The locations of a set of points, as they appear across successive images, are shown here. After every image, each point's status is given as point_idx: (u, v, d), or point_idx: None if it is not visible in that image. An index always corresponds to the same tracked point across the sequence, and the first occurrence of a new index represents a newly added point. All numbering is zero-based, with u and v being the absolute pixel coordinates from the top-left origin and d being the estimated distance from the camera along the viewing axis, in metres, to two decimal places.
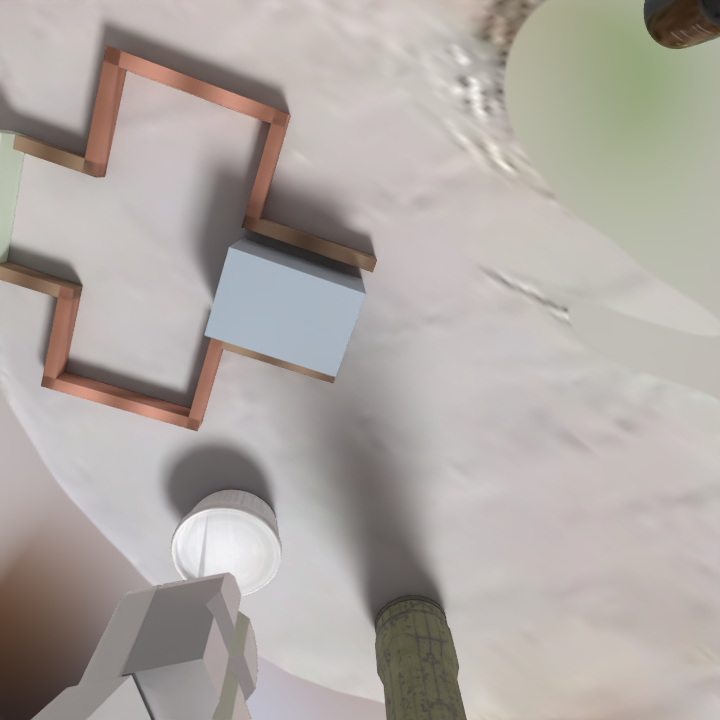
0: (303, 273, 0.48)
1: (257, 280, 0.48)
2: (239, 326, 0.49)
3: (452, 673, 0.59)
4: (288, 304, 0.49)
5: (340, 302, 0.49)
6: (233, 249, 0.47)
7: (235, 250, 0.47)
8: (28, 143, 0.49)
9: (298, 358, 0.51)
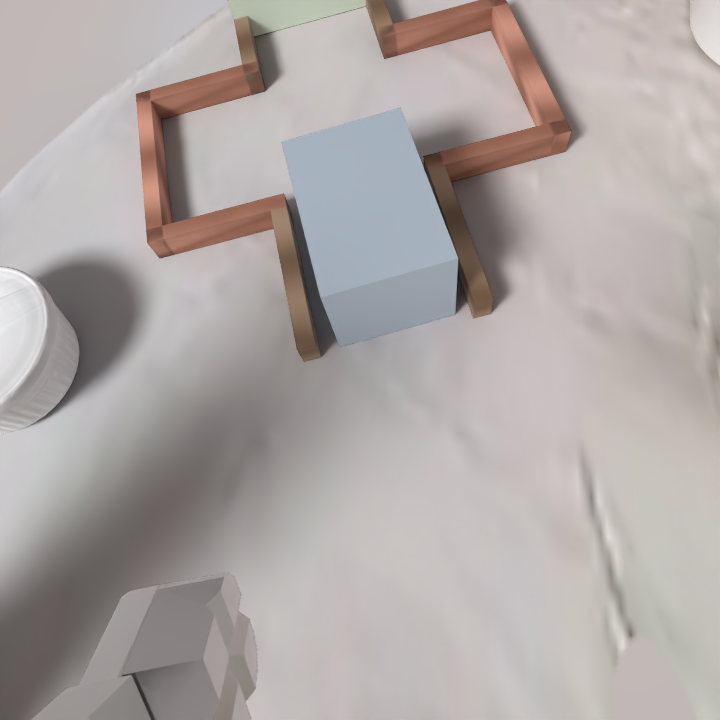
0: (428, 183, 0.34)
1: (384, 149, 0.36)
2: (315, 164, 0.36)
3: None
4: (379, 191, 0.34)
5: (425, 239, 0.33)
6: (401, 112, 0.37)
7: (401, 114, 0.37)
8: None
9: (317, 242, 0.34)
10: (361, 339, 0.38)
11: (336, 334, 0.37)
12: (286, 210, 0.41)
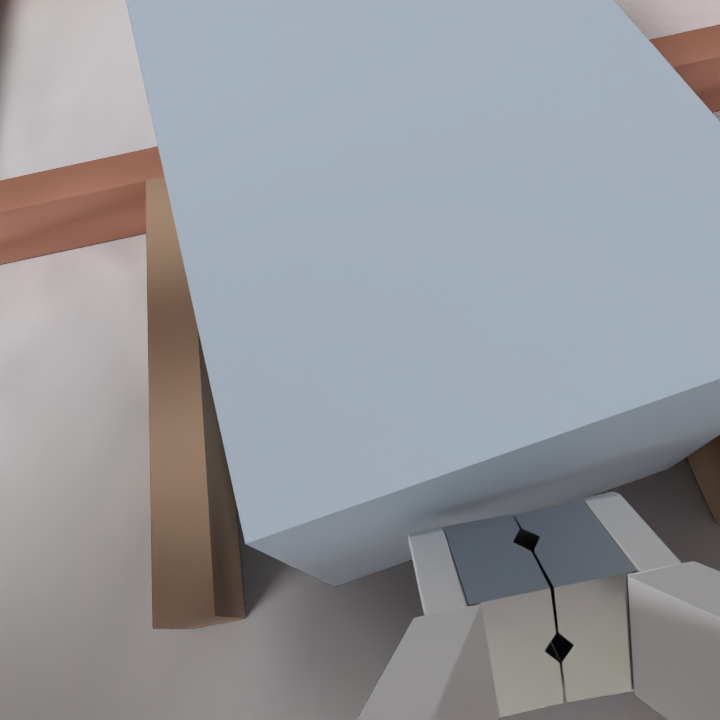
0: (640, 39, 0.09)
1: None
2: (224, 13, 0.11)
3: None
4: (459, 77, 0.09)
5: (699, 240, 0.07)
6: None
7: None
8: None
9: (229, 272, 0.08)
10: (399, 562, 0.12)
11: (323, 577, 0.11)
12: None
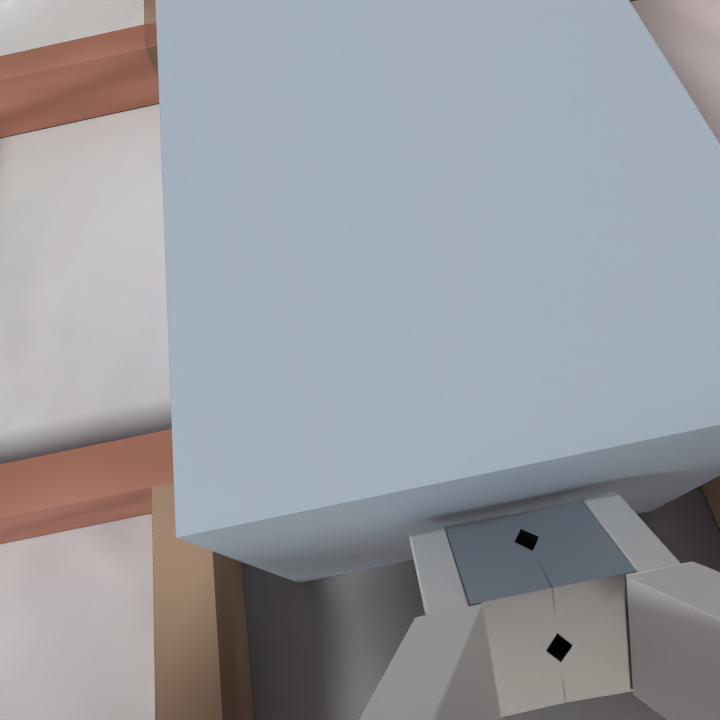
0: (663, 66, 0.09)
1: None
2: (247, 2, 0.11)
3: None
4: (469, 88, 0.09)
5: (685, 285, 0.07)
6: None
7: None
8: None
9: (207, 264, 0.08)
10: (365, 567, 0.12)
11: (282, 574, 0.11)
12: None
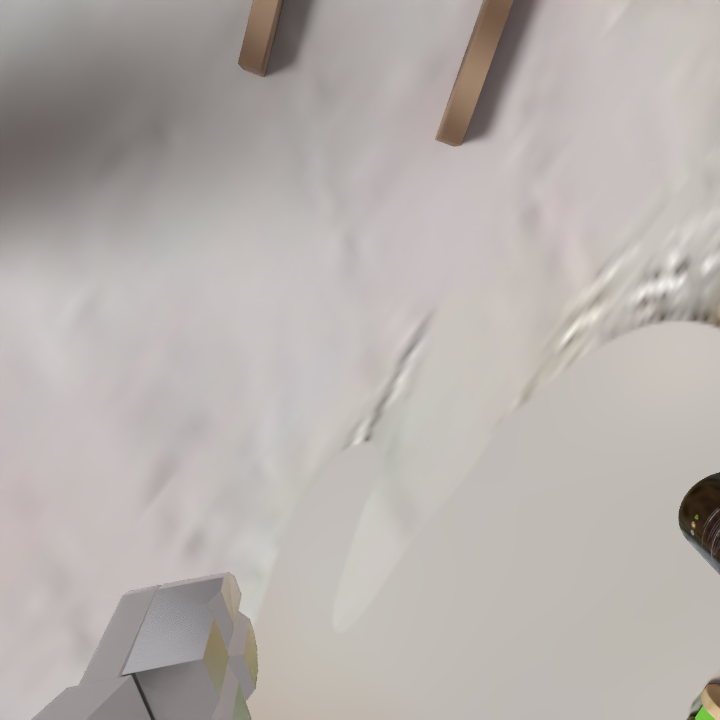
0: None
1: None
2: None
3: None
4: None
5: None
6: None
7: None
8: None
9: None
10: None
11: None
12: None
